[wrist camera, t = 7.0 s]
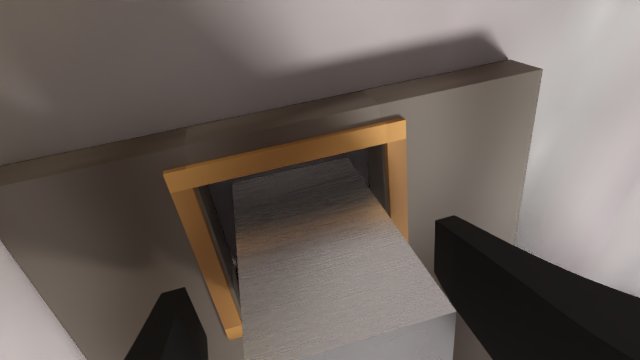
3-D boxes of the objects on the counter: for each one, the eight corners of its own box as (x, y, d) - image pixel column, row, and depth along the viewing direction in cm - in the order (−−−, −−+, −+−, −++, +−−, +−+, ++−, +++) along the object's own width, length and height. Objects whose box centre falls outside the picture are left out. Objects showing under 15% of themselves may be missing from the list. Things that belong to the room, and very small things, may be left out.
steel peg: (347, 157, 13) (456, 311, 7) (356, 245, 15) (447, 424, 9) (232, 183, 12) (245, 375, 7) (257, 271, 14) (285, 479, 9)
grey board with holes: (509, 59, 13) (548, 70, 11) (473, 365, 21) (492, 394, 20) (-3, 166, 11) (-38, 197, 9) (187, 459, 19) (184, 499, 18)
